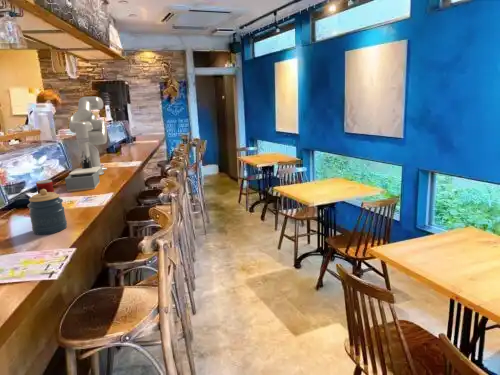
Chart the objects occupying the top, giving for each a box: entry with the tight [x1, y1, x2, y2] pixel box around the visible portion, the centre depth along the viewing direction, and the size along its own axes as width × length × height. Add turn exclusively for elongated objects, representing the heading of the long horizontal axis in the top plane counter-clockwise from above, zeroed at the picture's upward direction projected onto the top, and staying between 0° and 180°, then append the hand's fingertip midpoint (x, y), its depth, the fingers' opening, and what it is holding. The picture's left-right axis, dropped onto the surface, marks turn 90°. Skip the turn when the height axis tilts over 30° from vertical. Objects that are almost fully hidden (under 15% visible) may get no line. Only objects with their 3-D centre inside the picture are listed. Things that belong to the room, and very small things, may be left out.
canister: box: [27, 189, 68, 236], centre depth 153 cm, size 13×13×18 cm
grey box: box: [64, 171, 101, 192], centre depth 235 cm, size 20×16×8 cm
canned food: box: [35, 179, 55, 194], centre depth 205 cm, size 8×8×11 cm
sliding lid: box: [68, 160, 102, 176], centre depth 244 cm, size 20×16×6 cm
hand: (87, 167), depth 251 cm, fingers closed on sliding lid, 2 cm apart
